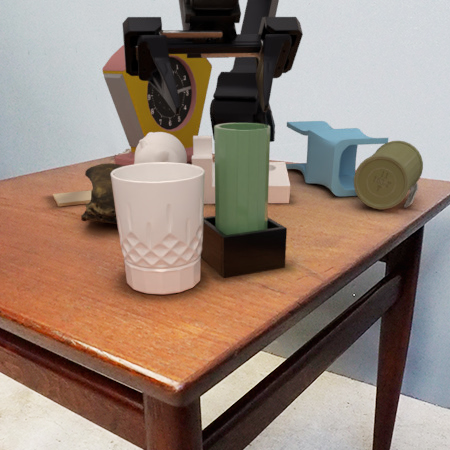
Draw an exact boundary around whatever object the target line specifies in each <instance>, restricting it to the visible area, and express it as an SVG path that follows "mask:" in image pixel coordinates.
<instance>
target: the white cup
mask: <svg viewBox="0 0 450 450" xmlns="http://www.w3.org/2000/svg"><path fill="white" fill-rule="evenodd" d="M204 181H205V170H204V169H203V168H201V167H199V166H196V165H192V163H191V164H190V163H187V164H185V163H174V162H152V163H140V164H133V165H127V166H123V167H120V168H117V169H115V170H113V171H112V172H111V182H112V189H113V196H114V204H115V211H116V219H117V224H116V225H117V232H118V236H119V237H118V238H119V244H120V250H121V253H122V255H123V262H124V263H123V264H124V270H125V278H126V283H127V285H128V286H129V287H130V288H132V290H134V291H136V292H140V293H144V294H147V295H148V294H149V295H170V294H176V293H182V292H185V291H187V290H190V289H192V288H194V287H195V286H196V285H197V284H199V282H200V281H201V262H202V261H201V259H202V257H201V252H202V242H203V222H204V217H205V216H204V214H205V204H204Z"/></svg>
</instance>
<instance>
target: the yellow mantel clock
mask: <svg viewBox="0 0 450 450" xmlns="http://www.w3.org/2000/svg"><path fill="white" fill-rule="evenodd" d="M169 58H170V63H171V67H172V71H173V75H174V79H175V83H176V87H177V91H178V95H179V104H180V114H178V115H176V114H175V113H174V111H173V110H172V109H171V107H170V106H169V105H168V103H167V102H166V100H165V99H164V98H163V96H162V95H161V94H160V93H159V92H158V91H157V90H156V89H155V88H154V87H153V86H152V85H151V84H150V83H149V82H148V81H142V80H140V79H139V76H130V75H129V74H128V73H126V67H125V56H124V44H123V45H121V46H120V47H119V48H118V49H117V50H116V51H115V52H114V53H113V54H112V55H111V56H110V57H109V59H108V60H107V61H106V63H105V64H104V66H103V67H102V69H101V70H102V74H103V78H104V81H105V84H106V86H107V89H108V91H109V94H110V97H111V100H112V102H113V105H114V107H115V111H116V113H117V116H118V118H119V121H120V124H121V126H122V129H123V132H124V135H125V137H126V140H127V143H128V146H129V147H130V149H131V152H130V153H126V154H121V153H120V154H121V155H118V154H116V156H114V164H117V165H122V166H127V165H133V164H134V161H135V151H136V148H137V145H138V144H139V141H140V140H141V139H143V138H144V137H145V136H146V135H147V134H148V133H149V132H153V133H155V132H165V133H169V134H171V135H173V136H175V137H176V138H177V139H178V140H179V141H180V142H181V143H182V145H183V146H184V148H185V151H186V155H187V164H190V163H192V155H193V136H199V134H200V133H199V132H200V128H201V123H202V118H203V113H204V108H205V103H206V99H207V94H208V89H209V84H210V80H211V75H212V70H213V65H212V63H211V62H210V61H209V58H187V55H186V54H169Z"/></svg>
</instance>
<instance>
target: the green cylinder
mask: <svg viewBox="0 0 450 450" xmlns="http://www.w3.org/2000/svg"><path fill="white" fill-rule="evenodd" d="M213 141H214V143H213V145H214V148H213V149H214V163H215V204H214V211H215V212H214V213H215V215H214V216H215V227H216V228H218V229H219V230H220V231H222V232H223V233H224V234H226V235H230V234H237V233H244V232H251V231H258V230H265V229H267V220H268V218H269V216H268V215H269V203H268V187H269V162H270V153H271V152H270V150H271V149H270V147H271V144H270V143H271V142H270V126H269V125H266V124H260V123H224V124H218V125H215V126H214V139H213Z"/></svg>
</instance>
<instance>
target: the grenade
mask: <svg viewBox="0 0 450 450" xmlns="http://www.w3.org/2000/svg"><path fill="white" fill-rule="evenodd" d="M423 169H424V161H423V157H422V155H421V153H420V151H419V150H418V149H417V148H416V147H415V146H414V145H413V144H411V143H409V142H407V141H405V140H392V141H388V143H386V144H381V146H380V147H378V148H377V149H376V151H375V152H374V153H373V154H372V155H370V156H369V157H367V158H365V159H364V160H363V161H362V162H360V164H358V167H357V168H356V169H355V175H354V188H355V192H356V194H357V196H356V197H358V199H359V200H360V201H361V202H362V203H363V204H364V205H366V206H367V207H370V208H372V209H376V210H388V209H392V208H394V207H397V206H398V205H399V204H401V203H402V202H403V200H404V199H405V198H406V197H407V198H406V201H405V202H404V205H403V207H404V208H408V207H409V206H411V205H412V204H413V203H414V200H415V198H416V196H417V194H418V190H419V183H418V181H419V180H420V179H421V176H422V175H423ZM408 192H409V193H408Z"/></svg>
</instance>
